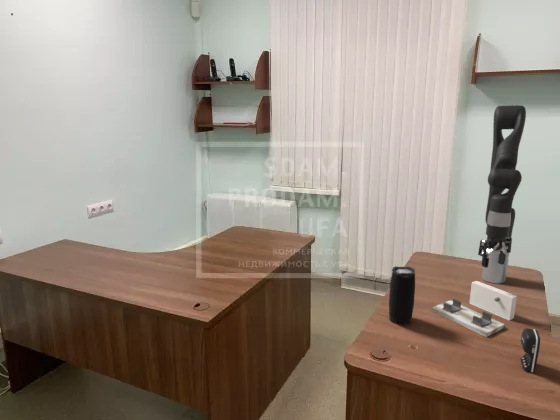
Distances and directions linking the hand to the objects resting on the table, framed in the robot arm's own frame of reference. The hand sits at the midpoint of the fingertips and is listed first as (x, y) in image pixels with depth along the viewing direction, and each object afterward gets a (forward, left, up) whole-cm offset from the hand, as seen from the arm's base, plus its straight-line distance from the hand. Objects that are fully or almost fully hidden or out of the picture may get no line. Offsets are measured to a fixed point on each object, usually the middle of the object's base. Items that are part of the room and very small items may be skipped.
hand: (492, 265), depth 161 cm
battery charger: (+25, +28, -18) cm, 41 cm away
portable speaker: (+35, -12, -18) cm, 41 cm away
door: (+1, +2, -18) cm, 18 cm away
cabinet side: (+15, +1, -17) cm, 23 cm away
